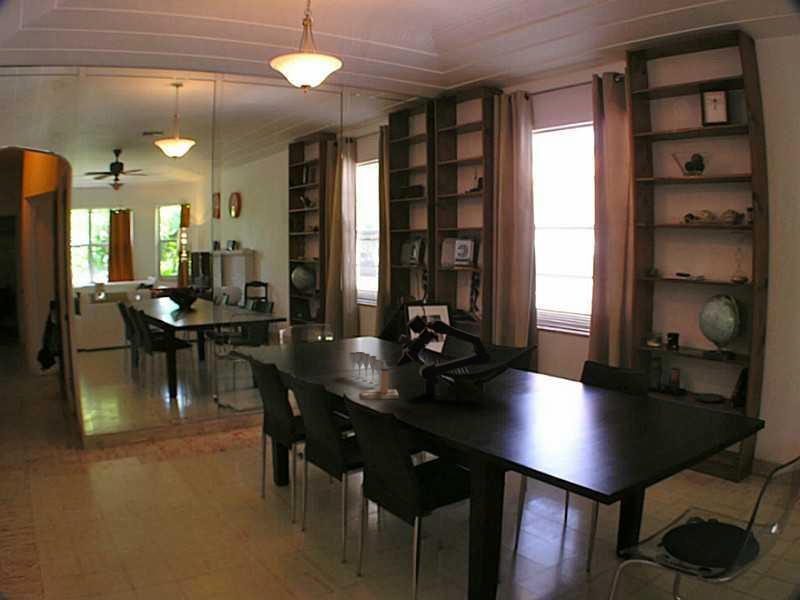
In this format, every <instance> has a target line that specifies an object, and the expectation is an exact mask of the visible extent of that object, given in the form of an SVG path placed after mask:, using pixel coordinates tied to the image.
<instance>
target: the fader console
mask: <svg viewBox="0 0 800 600" xmlns="http://www.w3.org/2000/svg"><path fill="white" fill-rule="evenodd" d="M360 394H361V399H363V400H369V399H370V400H372V399H373V400H376V399H377V400H378V399H382V400H383V399H385V400H386V399H388V400H389V399H400V398H399V397H400V396H399V393H398V390H397V389H388V393H381V391H380V389H360Z"/></svg>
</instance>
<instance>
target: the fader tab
mask: <svg viewBox="0 0 800 600" xmlns="http://www.w3.org/2000/svg"><path fill="white" fill-rule="evenodd" d="M380 370H381V373H380V386H379V390H380V391H381V393H388V390H389V372H390V368H389V366H388V365H386V366H380Z"/></svg>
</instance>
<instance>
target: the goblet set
mask: <svg viewBox="0 0 800 600" xmlns="http://www.w3.org/2000/svg"><path fill="white" fill-rule="evenodd" d="M348 360H349V362H350V363H351V366H352V374H351V375H348V377H349V378H354V379H355V380H359V379H360V380H361V381H362V382H368V384H371V385H373V384H374V386H375V387H380V373H381V370H380V366H387V364H386V360H385V359H378V358H377V356H376V355H371V354H370V353H365V352H363V351H357V352H349V354H348ZM356 365H357V367H358V375H355V374H354V372H355V366H356ZM362 366H363V367H364V368H365V377H367V375H368V368H369V366H370V368H371V373H372V375H371V377H372V381H371V379H367V378H365V377H361V367H362ZM374 371H376V372H377V374H378V378H379V379H378V381H379V382H378V383H377V382H376V381H374Z"/></svg>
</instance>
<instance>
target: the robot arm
mask: <svg viewBox="0 0 800 600" xmlns="http://www.w3.org/2000/svg"><path fill="white" fill-rule="evenodd" d="M406 326H407V327H408V328H409V330H411V332H413V333H414V334H415V335H416V334H418V336H416V337H413V338H411V336H408V335H404V334H400V336H399V339H398V342H399V343H401V344H402V345H401V347H402V355H401V357H400V358H399V359H398V361H397V363H396V364H395V365H396V366H397V367H402V366H404V365H406V364H409V363H412V362H415V363H418V362H419V361H420V353H421V352H422V351H423V350H425V349H426V347H427V346H428V345H429V344H430V343H431V342H432V341H433V340H435V341H436V342H439V335H438V334H440V335H445V336H447V335H449V336H451V337H454V338H456V339H460V340H463V341H465V342H468V343H470V344H471V345H472V347H473V352H471V354H469V355H467V356H463V357H460V358H456V359H452V360H449V361H445V362H442V363H435V362H434V361H433V360H431V361H429V362H427V363H426V362H424V364H423V365H421V366H420V368H419V372H418V373H419V374H420V376H421V378H422V379H423V381H422V384H421V385H422V386H421V389H422V391H421V392H422V393H420V396H424V397H427V398H428V397H429V398H434V397H439V396H440V395H441V393H439V381H440V379H439V378H438V376H439V375H441V374H443V373H447V372H450V371H455V370H458V369H461V368H465V367H469V366H486V365H488V364H489V363H490V361H491V355H490V353H489V352H487V350H486V348H485V346H484V344H483V342H482V339H481V338H480V337H479V336H478V335H476V334H473V333H469V332H467V331H464V330H461V329H458V328H456V327H453V326H450V324H447V323H446V322H444V320H441V319H439V318H435V319H432V321H427V322H425V321H424V320H423V319H422V318H421V317H420V315H419V314H416V316H413V317H412V318H411V319H410V320H408V322H407V323H406ZM435 333H436V334H435Z"/></svg>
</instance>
